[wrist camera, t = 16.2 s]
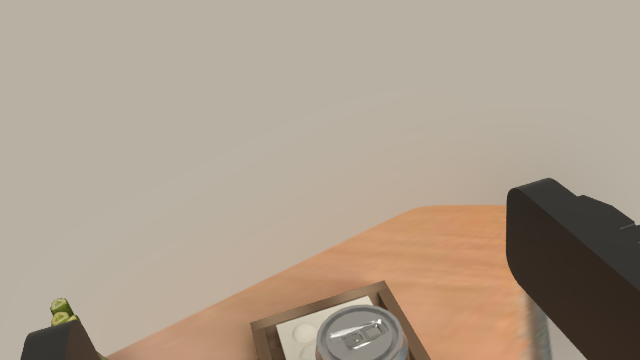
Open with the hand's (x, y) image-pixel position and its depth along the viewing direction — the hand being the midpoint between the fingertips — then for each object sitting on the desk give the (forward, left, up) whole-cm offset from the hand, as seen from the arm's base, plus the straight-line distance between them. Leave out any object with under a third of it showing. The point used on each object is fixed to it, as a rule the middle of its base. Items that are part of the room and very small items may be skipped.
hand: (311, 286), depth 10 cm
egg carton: (+4, +24, -29) cm, 38 cm away
